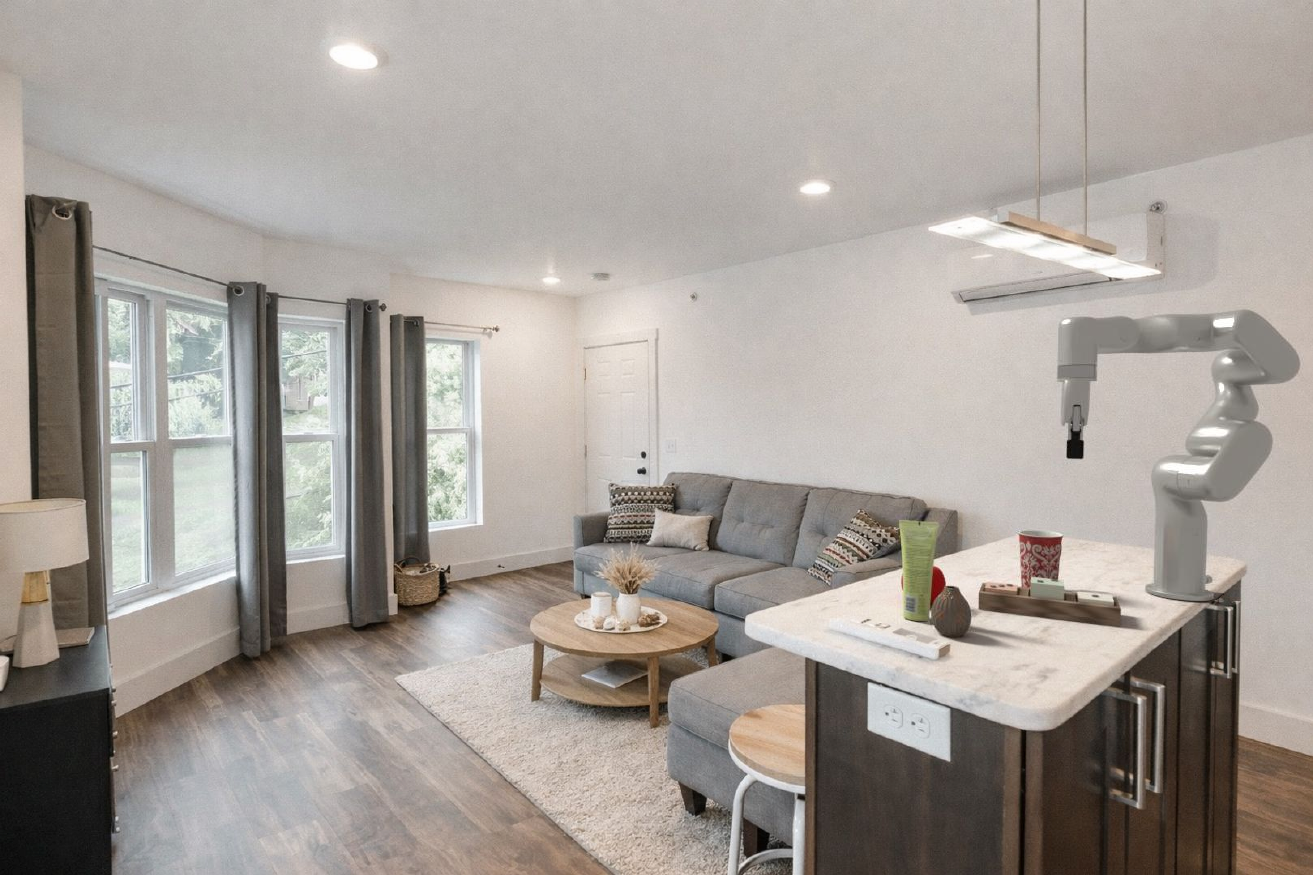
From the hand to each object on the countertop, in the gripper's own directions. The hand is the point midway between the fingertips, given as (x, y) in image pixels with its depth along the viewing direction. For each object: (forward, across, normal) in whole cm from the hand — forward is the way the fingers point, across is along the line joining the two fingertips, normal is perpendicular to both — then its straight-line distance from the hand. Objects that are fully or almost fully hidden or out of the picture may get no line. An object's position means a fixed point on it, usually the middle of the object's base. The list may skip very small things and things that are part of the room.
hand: (1074, 458), depth 157 cm
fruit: (+31, +19, -28) cm, 46 cm away
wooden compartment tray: (+31, +14, -5) cm, 34 cm away
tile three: (+30, +14, -13) cm, 36 cm away
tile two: (+28, +14, -5) cm, 31 cm away
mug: (+31, -6, -5) cm, 32 cm away
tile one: (+30, +14, +4) cm, 33 cm away
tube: (+31, +32, -27) cm, 53 cm away
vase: (+31, +40, -20) cm, 54 cm away
